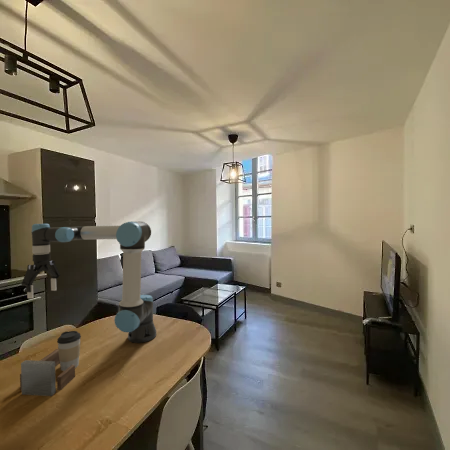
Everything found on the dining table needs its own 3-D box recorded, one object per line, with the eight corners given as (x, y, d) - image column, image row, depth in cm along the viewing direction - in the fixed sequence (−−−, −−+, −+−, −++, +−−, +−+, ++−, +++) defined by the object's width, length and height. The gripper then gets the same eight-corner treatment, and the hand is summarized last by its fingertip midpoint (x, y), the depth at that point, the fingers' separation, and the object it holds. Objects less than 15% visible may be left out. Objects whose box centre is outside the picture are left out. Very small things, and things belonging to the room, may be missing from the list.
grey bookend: (55, 392, 96) (55, 361, 95) (51, 396, 94) (51, 364, 93) (26, 390, 97) (25, 360, 96) (21, 394, 95) (21, 363, 94)
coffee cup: (86, 362, 115) (85, 330, 115) (68, 374, 107) (67, 339, 106) (71, 359, 118) (70, 327, 118) (52, 370, 110) (52, 336, 109)
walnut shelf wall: (89, 363, 115) (89, 350, 115) (59, 391, 96) (58, 376, 96) (57, 361, 116) (56, 348, 116) (20, 389, 97) (19, 374, 97)
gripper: (55, 250, 143) (56, 287, 143) (11, 257, 118) (12, 301, 119) (67, 250, 141) (68, 287, 142) (24, 257, 117) (25, 302, 117)
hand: (42, 294), depth 130 cm, fingers open, 13 cm apart
